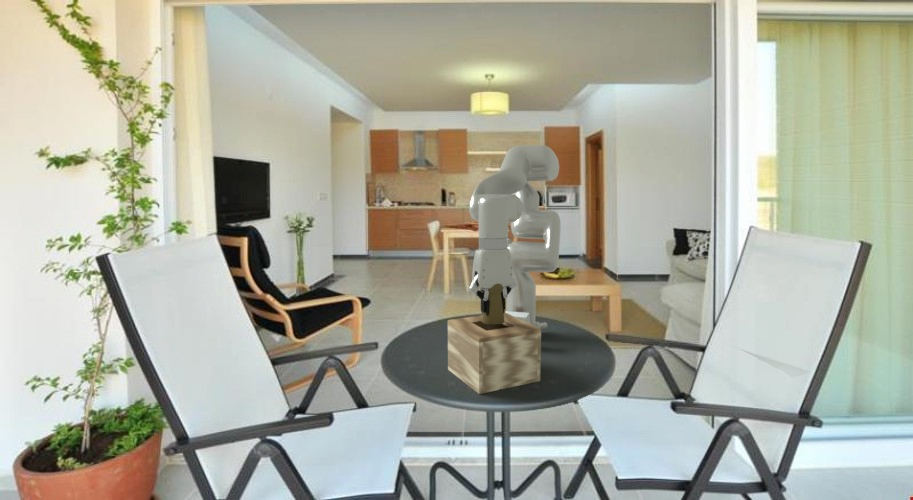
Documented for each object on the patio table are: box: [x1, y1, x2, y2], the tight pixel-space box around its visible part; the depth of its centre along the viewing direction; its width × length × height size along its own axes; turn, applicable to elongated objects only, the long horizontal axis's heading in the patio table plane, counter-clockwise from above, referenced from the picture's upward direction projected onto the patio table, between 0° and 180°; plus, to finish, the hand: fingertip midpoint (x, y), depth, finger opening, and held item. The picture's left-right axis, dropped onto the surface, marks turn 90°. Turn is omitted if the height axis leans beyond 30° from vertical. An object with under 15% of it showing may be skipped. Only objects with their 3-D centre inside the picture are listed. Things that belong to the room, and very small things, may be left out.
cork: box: [481, 284, 505, 325], centre depth 132 cm, size 6×6×11 cm
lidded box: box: [447, 313, 542, 395], centre depth 134 cm, size 18×18×14 cm
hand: (493, 312), depth 133 cm, fingers closed on cork, 3 cm apart
